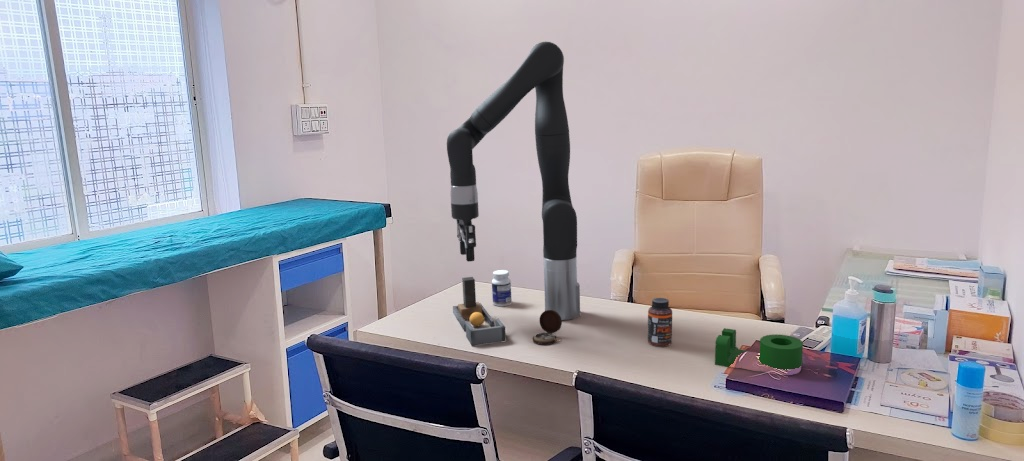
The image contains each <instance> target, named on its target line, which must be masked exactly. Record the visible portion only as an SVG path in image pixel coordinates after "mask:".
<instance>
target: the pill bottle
mask: <svg viewBox="0 0 1024 461" xmlns="http://www.w3.org/2000/svg"><path fill="white" fill-rule="evenodd" d="M509 276H510V274H509V270H506V269H499V270H494V271H493V272H492V277H493V278H492V280H491V290H492V293H491V294H492V304H493V305H494V306H497V307H507V306H509V305H511V304H512V302H513V301H512V284H511V283H512V282H511V279H510V278H509Z"/></svg>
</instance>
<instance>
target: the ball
mask: <svg viewBox="0 0 1024 461" xmlns="http://www.w3.org/2000/svg"><path fill="white" fill-rule="evenodd" d="M469 322H470V324H471V326H472V327H477V328H478V327H481V326H482V325H483V324H484V322H485V319H484V316H483V315H482V314H481V313H479V312H474V313H473V314H471V316H470V319H469Z"/></svg>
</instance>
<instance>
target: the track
mask: <svg viewBox="0 0 1024 461" xmlns="http://www.w3.org/2000/svg"><path fill="white" fill-rule="evenodd" d="M479 304H480V305H481V306H482V315H483V316H484V321H486V323H487V324H488V325H489V327H495V319H493V317H492V316H491V314H490V313H489V312H488V311H487V310H486V307H484V305H483V304H482V303H481V302H479ZM452 313H453V315H454V317H455V318H456V320H457V322H458V324H459V325H460V326H461V328H462V330H463V331H464V333H466V323H465V322H466V319H463V317H462V316H461V314H460V312H459V311H458V305H452Z"/></svg>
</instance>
